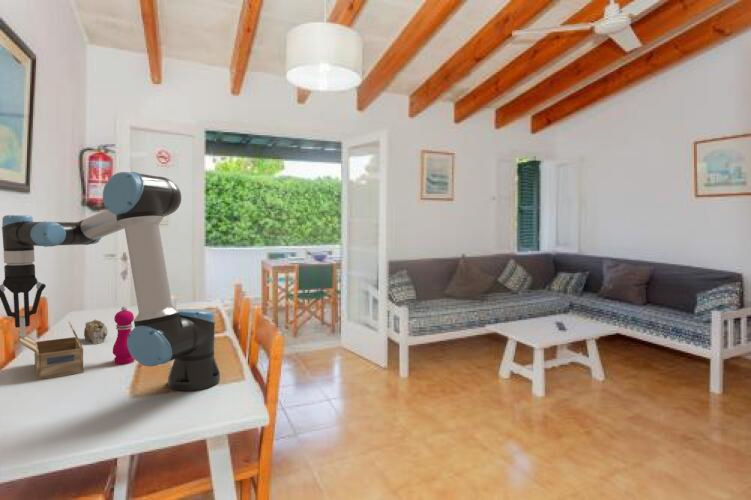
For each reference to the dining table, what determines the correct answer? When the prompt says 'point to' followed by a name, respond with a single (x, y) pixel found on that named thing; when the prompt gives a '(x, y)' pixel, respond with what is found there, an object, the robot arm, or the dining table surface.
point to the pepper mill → (123, 337)
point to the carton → (58, 358)
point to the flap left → (28, 343)
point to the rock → (95, 331)
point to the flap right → (74, 333)
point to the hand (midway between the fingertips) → (23, 336)
